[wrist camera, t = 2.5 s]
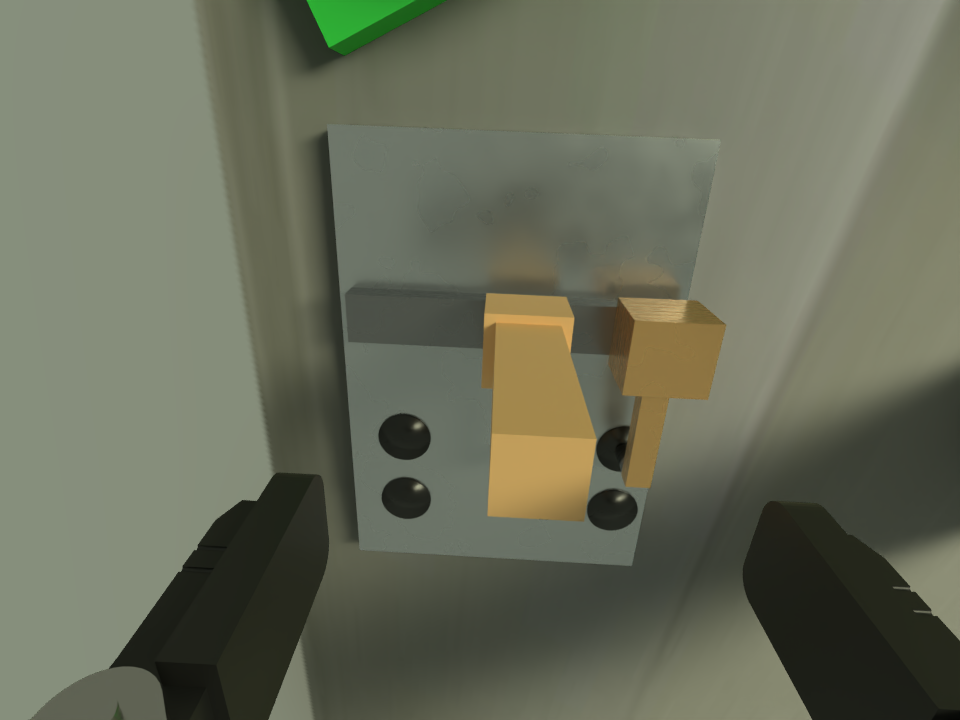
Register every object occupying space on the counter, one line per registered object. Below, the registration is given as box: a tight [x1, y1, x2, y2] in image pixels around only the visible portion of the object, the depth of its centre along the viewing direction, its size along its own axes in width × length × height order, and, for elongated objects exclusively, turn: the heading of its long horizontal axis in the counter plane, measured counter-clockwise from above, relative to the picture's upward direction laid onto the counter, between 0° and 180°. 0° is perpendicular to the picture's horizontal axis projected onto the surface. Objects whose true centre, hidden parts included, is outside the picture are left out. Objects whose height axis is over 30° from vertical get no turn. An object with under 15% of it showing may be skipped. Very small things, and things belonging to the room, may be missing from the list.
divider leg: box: [481, 293, 597, 522], centre depth 17 cm, size 3×8×10 cm, turn 178°
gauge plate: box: [327, 124, 726, 566], centre depth 21 cm, size 14×20×5 cm
